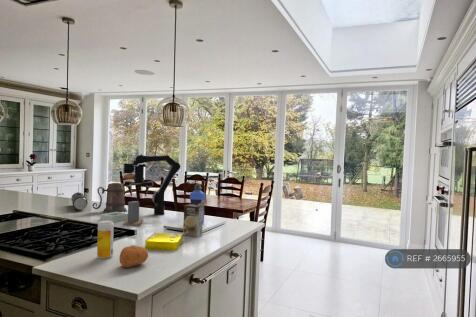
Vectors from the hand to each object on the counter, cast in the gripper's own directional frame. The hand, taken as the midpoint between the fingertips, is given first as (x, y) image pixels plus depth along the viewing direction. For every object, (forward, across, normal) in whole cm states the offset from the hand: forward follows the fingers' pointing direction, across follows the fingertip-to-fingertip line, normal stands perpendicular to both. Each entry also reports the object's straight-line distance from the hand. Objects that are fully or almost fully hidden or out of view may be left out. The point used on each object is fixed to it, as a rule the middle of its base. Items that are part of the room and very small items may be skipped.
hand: (138, 196), depth 222 cm
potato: (+13, -12, +98) cm, 100 cm away
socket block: (+13, +12, +17) cm, 25 cm away
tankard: (+13, +21, -13) cm, 28 cm away
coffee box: (+13, -36, +53) cm, 65 cm away
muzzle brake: (+14, +46, -26) cm, 54 cm away
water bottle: (+13, -39, +26) cm, 49 cm away
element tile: (+14, -22, +72) cm, 76 cm away
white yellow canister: (+13, +1, +88) cm, 89 cm away
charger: (+12, -1, +27) cm, 29 cm away
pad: (+13, -1, +27) cm, 30 cm away
